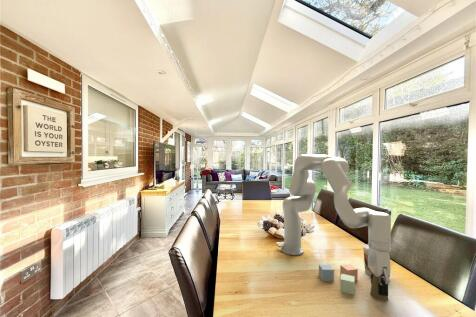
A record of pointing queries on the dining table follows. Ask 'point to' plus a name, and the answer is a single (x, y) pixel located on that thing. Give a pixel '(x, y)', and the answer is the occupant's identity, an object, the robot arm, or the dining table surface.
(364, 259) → the coffee cup
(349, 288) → the sage cube
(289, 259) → the dining table surface
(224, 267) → the dining table surface
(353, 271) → the terracotta cube
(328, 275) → the slate cube
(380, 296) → the cork
